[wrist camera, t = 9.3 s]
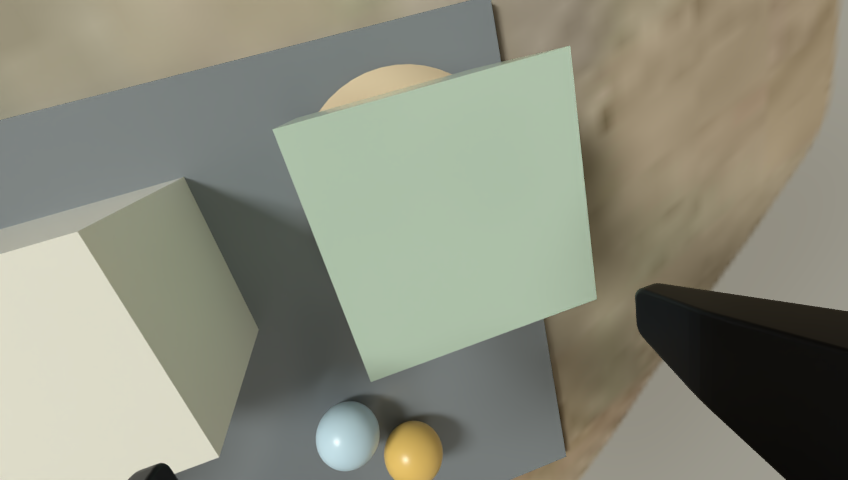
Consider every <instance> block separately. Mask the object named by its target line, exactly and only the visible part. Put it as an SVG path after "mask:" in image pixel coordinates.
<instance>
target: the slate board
mask: <svg viewBox="0 0 848 480" xmlns="http://www.w3.org/2000/svg"><path fill="white" fill-rule="evenodd" d="M499 62H501V59H500V53H499V46H498V40H497V34H496V28H495V22H494V16H493V10H492V4H491V0H470V1H466V2H462V3H458V4H454V5H450V6H446V7H442V8H438V9H434V10H431V11H427V12H423V13H419V14H415V15H411V16H407V17H403V18H399V19H395V20H391V21H387V22H383V23H380V24H376V25H372V26H368V27H364V28H360V29H356V30H352V31H348V32H344V33H340V34H336V35H332V36H328V37H325V38H321V39H317V40H313V41H309V42H305V43H301V44H297V45H293V46H289V47H285V48H281V49H277V50H274V51H270V52H266V53H262V54H258V55H254V56H250V57H246V58H242V59H238V60H234V61H230V62H226V63H222V64H219V65H215V66H211V67H207V68H203V69H199V70H195V71H191V72H187V73H183V74H179V75H175V76H171V77H168V78H164V79H160V80H156V81H152V82H148V83H144V84H140V85H136V86H132V87H128V88H124V89H120V90H117V91H113V92H109V93H105V94H101V95H97V96H93V97H89V98H85V99H81V100H77V101H73V102H69V103H65V104H62V105H58V106H54V107H50V108H46V109H42V110H38V111H34V112H30V113H26V114H22V115H18V116H14V117H11V118H7V119H3V120H0V229H3V228H7V227H10V226H14V225H17V224H21V223H24V222H28V221H31V220H35V219H38V218H42V217H45V216H49V215H52V214H56V213H59V212H63V211H66V210H70V209H73V208H77V207H80V206H84V205H87V204H91V203H94V202H98V201H101V200H105V199H108V198H112V197H115V196H119V195H122V194H126V193H129V192H133V191H137V190H140V189H144V188H147V187H151V186H154V185H158V184H161V183H165V182H168V181H172V180H175V179H179V178H182V177H184V178H185V180H186V183H187V185H188V187H189V189H190V191H191V193H192V195H193V197H194V199H195V201H196V203H197V205H198V207H199V209H200V211H201V213H202V215H203V217H204V219H205V221H206V223H207V225H208V227H209V229H210V231H211V233H212V235H213V237H214V240H215V242H216V244H217V246H218V248H219V250H220V252H221V254H222V256H223V258H224V260H225V262H226V264H227V266H228V268H229V270H230V272H231V274H232V276H233V278H234V280H235V282H236V284H237V286H238V288H239V290H240V292H241V294H242V297H243V299H244V301H245V303H246V305H247V307H248V309H249V311H250V313H251V315H252V317H253V319H254V321H255V323H256V325H257V327H258V329H259V330H258V334H257V337H256V340H255V343H254V347H253V350H252V353H251V356H250V359H249V363H248V366H247V369H246V372H245V376H244V379H243V382H242V385H241V388H240V392H239V395H238V398H237V401H236V405H235V408H234V411H233V414H232V417H231V421H230V424H229V427H228V430H227V434H226V437H225V440H224V443H223V446H222V450H221V453H220V456H219V458H216V459H213V460H211V461H208V462H205V463H203V464H200V465H197V466H195V467H192V468H189V469H186V470H184V471H181V472H178V473H176V474H175V475H176V477H177V478H178V480H394V479H393V478H392V477H391V475H390V474H389V472H388V470H387V468H386V465H385V460H384V448H385V444H386V441H387V439H388V437H389V435H390V434H391V432H392V431H393V430H394V429H395V428H396V427H397V426H399V425H400V424H402V423H404V422H407V421H421V422H423V423H426V424H428V425H429V426H430V427H432V428H433V429H434V430H435V432H436V433H437V435H438V436H439V438H440V441H441V444H442V448H443V459H442V464H441V467H440V469H439V471H438V473H437V474H436V476H435V477H434V478H433V479H432V480H511V479H513V478H515V477H518V476H520V475H523V474H525V473H528V472H530V471H532V470H535V469H537V468H540V467H542V466H545V465H547V464H549V463H552V462H554V461H557V460H559V459H561V458H564V457H566V453H565V446H564V440H563V434H562V428H561V422H560V416H559V410H558V404H557V398H556V392H555V386H554V380H553V374H552V368H551V362H550V356H549V349H548V343H547V337H546V331H545V325H544V319H541V320H539V321H536V322H533V323H530V324H528V325H525V326H522V327H520V328H517V329H514V330H511V331H509V332H506V333H503V334H501V335H498V336H495V337H492V338H490V339H487V340H484V341H481V342H479V343H476V344H473V345H471V346H468V347H465V348H462V349H460V350H457V351H454V352H452V353H449V354H446V355H443V356H441V357H438V358H435V359H433V360H430V361H427V362H424V363H422V364H419V365H416V366H413V367H411V368H408V369H405V370H403V371H400V372H397V373H394V374H392V375H389V376H386V377H384V378H381V379H378V380H375V381H373V382H371V381H370V378H369V376H368V373H367V371H366V368H365V366H364V363H363V360H362V358H361V355H360V353H359V350H358V348H357V345H356V343H355V340H354V337H353V335H352V332H351V330H350V327H349V325H348V322H347V319H346V317H345V314H344V312H343V309H342V307H341V304H340V302H339V299H338V296H337V294H336V291H335V289H334V286H333V284H332V281H331V278H330V276H329V273H328V271H327V268H326V266H325V263H324V261H323V258H322V255H321V253H320V250H319V248H318V245H317V243H316V240H315V237H314V235H313V232H312V230H311V227H310V225H309V222H308V220H307V217H306V214H305V212H304V209H303V207H302V204H301V202H300V199H299V196H298V194H297V191H296V189H295V186H294V184H293V181H292V179H291V176H290V173H289V171H288V168H287V166H286V163H285V161H284V158H283V155H282V153H281V150H280V148H279V145H278V143H277V140H276V137H275V135H274V132H273V130H272V129H274V128H277V127H279V126H281V125H283V124H285V123H287V122H289V121H291V120H293V119H295V118H298V117H302V116H305V115H309V114H312V113H316V112H319V111H320V109H321V108H322V107H323V106H324V104H325V103H326V102H327V101H328V99H329V98H330V97H331V96H332V95H334V94H335V93H336V92H337V91H338V90H339V89H340V88H341V87H343V86H344V85H346V84H347V83H348V82H350V81H351V80H353V79H355V78H357V77H358V76H360V75H362V74H364V73H366V72H369V71H372V70H375V69H378V68H381V67H386V66H391V65H402V64H414V65H424V66H429V67H433V68H437V69H440V70H443V71H445V72H447V73H450V74H455V73H459V72H463V71H466V70H470V69H473V68H478V67H482V66H486V65H490V64H495V63H499ZM347 401H354V402H359V403H361V404H363V405H365V406H367V407H368V408H369V409H370V410H371V411H372V412H373V414H374V415H375V417H376V419H377V421H378V424H379V430H380V437H379V443H378V446H377V449H376V451H375V453H374V455H373V456H372V457H371V459H370V460H369V461H368V462H367V463H366V464H364V465H363V466H361V467H360V468H358V469H355V470H352V471H338V470H335V469H333V468H331V467H329V466H328V465H327V464H326V463H325V462H324V461H323V460H322V459H321V457H320V455H319V453H318V451H317V447H316V431H317V428H318V425H319V422H320V420H321V419H322V417H323V416H324V414H325V413H326V412H327V411H328V410H329V409H330V408H332V407H333V406H335V405H337V404H339V403H342V402H347Z"/></svg>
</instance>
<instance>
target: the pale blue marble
mask: <svg viewBox="0 0 848 480" xmlns="http://www.w3.org/2000/svg"><path fill="white" fill-rule="evenodd" d="M379 437H380V430H379V424H378V421H377V419H376V417H375V415H374V414H373V412H372V411H371V410H370V409H369V408H368V407H367V406H365V405H363V404H361V403H359V402H354V401H347V402H342V403H339V404H337V405H335V406H333V407H332V408H330V409H329V410H328V411H327V412H326V413H325V414H324V416H323V417H322V419H321V420H320V422H319V425H318V428H317V431H316V447H317V451H318V453H319V455H320V457H321V459H322V460H323V461H324V462H325V463H326V464H327V465H328V466H329V467H331V468H333V469H335V470H338V471H352V470H355V469H358V468H360V467H361V466H363V465H364V464H366V463H367V462H368V461H369V460H370V459H371V457H372V456H373V455H374V453H375V451H376V449H377V446H378V443H379Z"/></svg>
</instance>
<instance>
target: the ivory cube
mask: <svg viewBox="0 0 848 480" xmlns="http://www.w3.org/2000/svg"><path fill="white" fill-rule="evenodd" d="M258 330H259V329H258V327H257V325H256V323H255V321H254V319H253V317H252V315H251V313H250V311H249V309H248V307H247V305H246V303H245V301H244V299H243V297H242V294H241V292H240V290H239V288H238V286H237V284H236V282H235V280H234V278H233V276H232V274H231V272H230V270H229V268H228V266H227V264H226V262H225V260H224V258H223V256H222V254H221V252H220V250H219V248H218V246H217V244H216V242H215V240H214V237H213V235H212V233H211V231H210V229H209V227H208V225H207V223H206V221H205V219H204V217H203V215H202V213H201V211H200V209H199V207H198V205H197V203H196V201H195V199H194V197H193V195H192V193H191V191H190V189H189V187H188V185H187V183H186V180H185V178H184V177H182V178H179V179H175V180H172V181H168V182H165V183H161V184H158V185H154V186H151V187H147V188H144V189H140V190H137V191H133V192H129V193H126V194H122V195H119V196H115V197H112V198H108V199H105V200H101V201H98V202H94V203H91V204H87V205H84V206H80V207H77V208H73V209H70V210H66V211H63V212H59V213H56V214H52V215H49V216H45V217H42V218H38V219H35V220H31V221H28V222H24V223H21V224H17V225H14V226H10V227H7V228H3V229H0V480H128V479H129V478H130V477H131V476H132V475H133V474H134V473H135V472H137V471H139V470H141V469H144V468H147V467H150V466H152V465H155V464H158V463H165V464H167V465H168V466H169V467H170V468H171V469H172V471H173V472H174V474H176V473H178V472H181V471H184V470H186V469H189V468H192V467H195V466H197V465H200V464H203V463H205V462H208V461H211V460H213V459H216V458H219V456H220V453H221V450H222V446H223V443H224V440H225V437H226V434H227V430H228V427H229V424H230V421H231V417H232V414H233V411H234V408H235V405H236V401H237V398H238V395H239V392H240V388H241V385H242V382H243V379H244V376H245V372H246V369H247V366H248V363H249V359H250V356H251V353H252V350H253V347H254V343H255V340H256V337H257V334H258Z"/></svg>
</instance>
